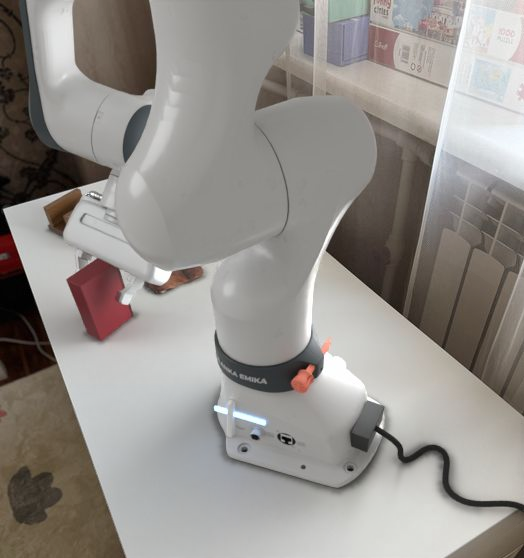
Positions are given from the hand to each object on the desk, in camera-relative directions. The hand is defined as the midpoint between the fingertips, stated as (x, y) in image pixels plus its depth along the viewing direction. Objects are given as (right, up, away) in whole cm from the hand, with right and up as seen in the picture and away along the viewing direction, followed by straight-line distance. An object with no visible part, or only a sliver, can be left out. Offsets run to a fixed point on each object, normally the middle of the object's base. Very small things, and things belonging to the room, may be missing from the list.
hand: (100, 291), depth 82 cm
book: (0, -5, +5) cm, 7 cm away
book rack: (-10, +15, +25) cm, 30 cm away
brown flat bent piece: (+4, +10, +19) cm, 22 cm away
